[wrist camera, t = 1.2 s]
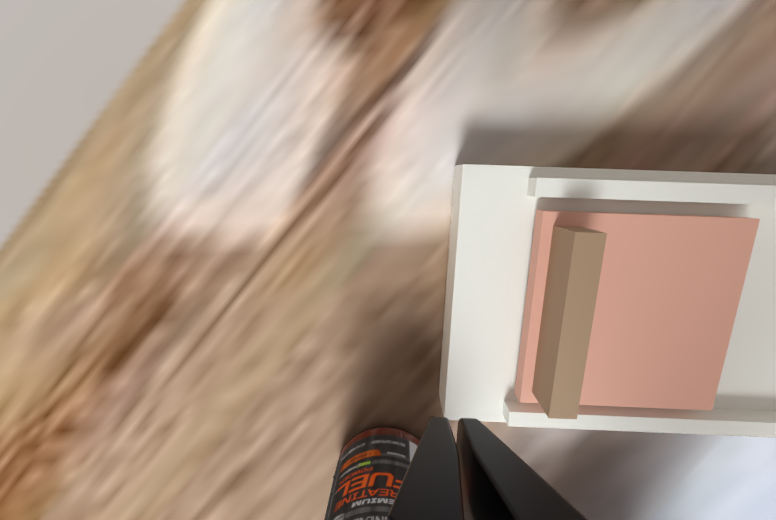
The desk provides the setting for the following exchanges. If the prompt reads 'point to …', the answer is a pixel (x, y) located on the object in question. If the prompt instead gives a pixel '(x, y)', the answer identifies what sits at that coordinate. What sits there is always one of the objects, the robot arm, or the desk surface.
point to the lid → (630, 309)
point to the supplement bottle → (370, 474)
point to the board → (510, 279)
